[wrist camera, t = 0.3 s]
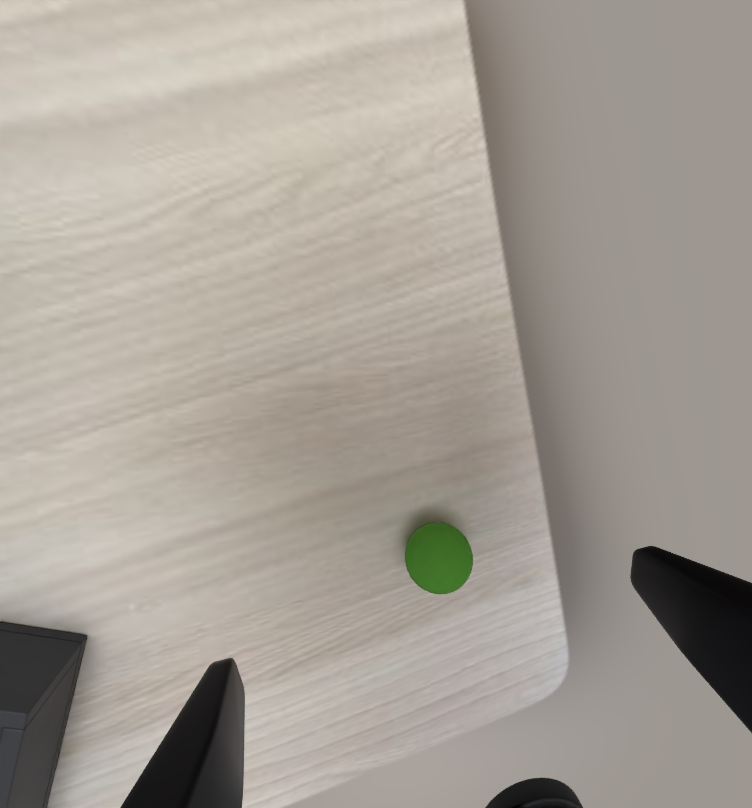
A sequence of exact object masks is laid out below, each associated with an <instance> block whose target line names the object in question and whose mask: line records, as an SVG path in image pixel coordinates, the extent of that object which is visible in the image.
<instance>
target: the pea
mask: <svg viewBox="0 0 752 808" xmlns="http://www.w3.org/2000/svg"><path fill="white" fill-rule="evenodd" d="M405 562H406V567H407V570H408V572H409V574H410V576H411V578H412V579H413V580H414V582H415V583H416V584H417V585H418V586H420V587H421V588H422V589H424V590H426V591H428V592H431V593H434V594H447V593H451V592H453V591H455V590H457V589H459V588H460V587H461V586H462V585H463V584H464V583H465V582H466V581H467V579H468V577H469V575H470V573H471V570H472V565H473V555H472V550H471V547H470V545H469V542H468V541H467V539H466V537H465V536H464V535H463V534H462V533H461V532H460V531H459V530H458V529H456V528H455V527H453V526H451V525H448V524H445V523H429V524H426V525H424V526H422V527H420V528H419V529H417V530H416V531H415V532H414V533H413V535H412V536H411V537H410V539H409V541H408V543H407V546H406V551H405Z"/></svg>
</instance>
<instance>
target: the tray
mask: <svg viewBox="0 0 752 808" xmlns="http://www.w3.org/2000/svg"><path fill="white" fill-rule="evenodd" d="M86 639H87V636H86V635H80V634H74V633H67V632H61V631H55V630H48V629H42V628H36V627H29V626H23V625H16V624H10V623H4V622H0V808H46V807H47V803H48V798H49V794H50V790H51V786H52V782H53V777H54V773H55V769H56V765H57V761H58V756H59V752H60V748H61V744H62V740H63V735H64V731H65V727H66V723H67V719H68V714H69V710H70V706H71V702H72V698H73V693H74V689H75V685H76V681H77V676H78V672H79V668H80V664H81V660H82V655H83V651H84V647H85V643H86Z"/></svg>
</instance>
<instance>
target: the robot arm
mask: <svg viewBox="0 0 752 808" xmlns="http://www.w3.org/2000/svg"><path fill="white" fill-rule="evenodd" d="M631 582H632V585H633V587H634V588H635V590H636V591H637V593H638V594H639V595H640V597H641V598H642V600H643V601H644V602H645V604H646V605H647V606H648V608H649V609H650V610H651V611H652V613H653V614H654V616H655V617H656V618H657V620H658V621H659V623H660V624H661V625H662V627H663V628H664V629H665V631H666V632H667V633H668V635H669V636H670V637H671V639H672V640H673V641H674V643H675V644H676V645H677V647H678V648H679V649H680V650H681V652H682V653H683V654H684V655H685V657H686V658H687V659H688V660H689V661H690V663H691V664H692V665H693V666H694V667H695V668H696V670H697V671H698V672H699V673H700V674H701V675H702V676H703V678H704V679H705V680H706V681H707V682H708V683H709V684H710V686H711V687H712V688H713V689H714V690H715V691H716V692H717V694H718V695H719V696H720V697H721V698H722V699H723V701H725V703H726V704H727V705H728V706H729V707H730V708H731V710H732V711H733V712H734V713H735V714H736V715H737V717H738V718H739V719H740V720H741V721H742V722H743V723H744V724H745V726H746V727H747V728H748V729H749V730H750V731H751V733H752V583H750V582H748V581H745V580H742V579H740V578H737V577H734V576H732V575H729V574H726V573H724V572H721V571H718V570H716V569H713V568H711V567H708V566H705V565H703V564H700V563H697V562H695V561H692V560H689V559H687V558H684V557H681V556H679V555H676V554H673V553H671V552H668V551H665V550H662V549H660V548H657V547H654V546H648V547H644V548H640V549H637V550H635V551H634V553H633V559H632V567H631ZM244 718H245V693H244V686H243V683H242V680H241V677H240V674H239V671H238V668H237V665H236V663H235V661H234V659H233V658H228V659H224V660H220V661H216V662H214V663H212V664H211V665H210V666H209V667H208V669H207V671H206V672H205V674H204V675H203V677H202V679H201V680H200V682H199V683H198V685H197V686H196V688H195V690H194V691H193V693H192V694H191V696H190V698H189V699H188V701H187V702H186V704H185V706H184V707H183V709H182V710H181V712H180V714H179V715H178V717H177V718H176V720H175V722H174V723H173V725H172V726H171V728H170V730H169V731H168V733H167V734H166V736H165V738H164V739H163V741H162V742H161V744H160V745H159V747H158V749H157V750H156V752H155V753H154V755H153V757H152V758H151V760H150V761H149V763H148V765H147V766H146V768H145V769H144V771H143V773H142V774H141V776H140V777H139V779H138V781H137V782H136V784H135V785H134V787H133V789H132V790H131V792H130V793H129V795H128V796H127V798H126V800H125V801H124V803H123V804H122V806H121V808H242V797H243V776H244ZM517 808H527V807H517Z"/></svg>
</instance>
